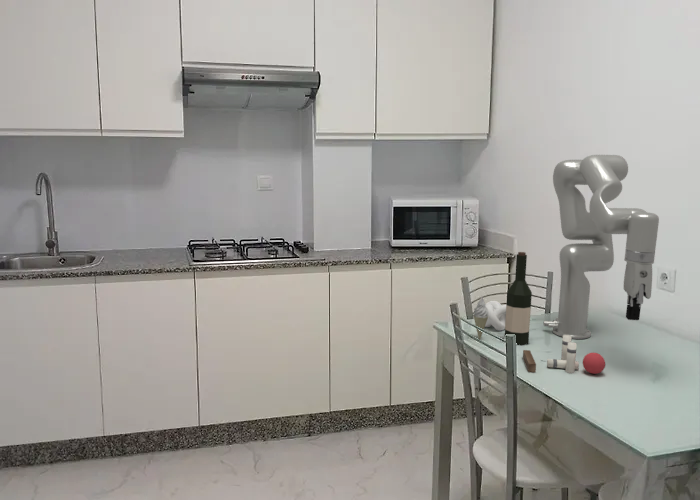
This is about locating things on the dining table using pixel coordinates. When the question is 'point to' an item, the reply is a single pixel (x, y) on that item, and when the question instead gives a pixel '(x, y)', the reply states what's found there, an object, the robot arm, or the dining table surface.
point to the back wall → (529, 361)
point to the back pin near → (571, 357)
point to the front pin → (560, 363)
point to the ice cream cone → (480, 316)
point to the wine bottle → (519, 303)
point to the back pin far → (565, 346)
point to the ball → (594, 363)
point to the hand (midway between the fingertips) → (632, 318)
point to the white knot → (496, 315)
